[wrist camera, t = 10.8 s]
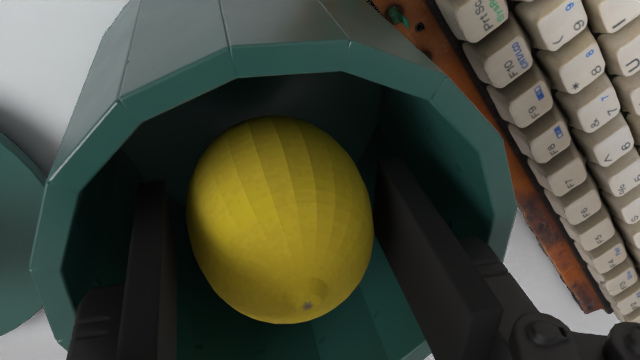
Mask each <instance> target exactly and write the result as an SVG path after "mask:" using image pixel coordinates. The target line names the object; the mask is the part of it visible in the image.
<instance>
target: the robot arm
mask: <svg viewBox="0 0 640 360" xmlns="http://www.w3.org/2000/svg"><path fill="white" fill-rule="evenodd" d="M373 226H374V234H375V236H376V238H377V240H378V242H379V244H380V246H381V248H382V250H383V252H384V254H385V256H386V258H387V261H388V263H389V265H390V267H391V269H392V271H393V273H394V275H395V277H396V279H397V281H398V283H399V285H400V287H401V290H402V292H403V294H404V296H405V298H406V300H407V302H408V304H409V306H410V308H411V310H412V312H413V314H414V316H415V319H416V321H417V323H418V325H419V327H420V329H421V331H422V333H423V335H424V337H425V339H426V341H427V343H428V346H429V348H430V350H431V352H432V354H433V356H434V358H435V360H640V323H637V322H621V323H618V324H615V325H614V326H613V328H612V329H611V330H610V332H609V334H608V336H603V335H594V334H585V333H577V332H572V331H570V329H569V328H568V327H567V326H566V325H565V324H564V323H563V322H561V321H560V320H559V319H557V318H555V317H553V316H551V315H548V314H544V313H540V312H539V311H538V310H537V308H536V307H535V306H534V304H533V303H532V302H531V300H530V299H529V298H528V296H527V295H526V294H525V292H524V291H523V290H522V288H521V287H520V286H519V284H518V283H517V282H516V280H515V279H514V278H513V276H512V275H511V274H510V273H508V270H507V268H506V267H505V266H504V264H503V263H502V262H500V259H499V258H498V256H497V255H496V254H495V252H494V251H493V250H492V248H491V247H490V246H489V245H488V244H486V243H485V242H483V241H482V240H480V239H479V238H477V237H476V236H475V235H472V236H465V237H457V238H456V237H455V236H454V234H453V233H452V231H451V230H450V228H449V227H448V225H447V224H446V222H445V221H444V219H443V218H442V217H441V215H440V214H439V212H438V211H437V209H436V208H435V206H434V205H433V203H432V202H431V200H430V199H429V197H428V196H427V194H426V193H425V191H424V190H423V189H422V187H421V186H420V184H419V183H418V181H417V180H416V178H415V177H414V175H413V174H412V172H411V171H410V169H409V168H408V166H407V165H406V163H405V162H404V161H403V159H402V158H401V156H398V157H388V158H378V159H377V171H376V183H375V195H374V206H373ZM71 337H72V340H70V345H69V350H68V354H67V359H66V360H176V347H177V247H176V241H175V235H174V229H173V223H172V217H171V212H170V206H169V200H168V194H167V188H166V182H165V180H160V181H150V182H140V183H138V185H137V193H136V201H135V209H134V217H133V225H132V233H131V241H130V249H129V257H128V265H127V273H126V281H125V283H123V284H115V285H108V286H100V287H93V288H90V289H89V291H88V292H87V294H86V295H85V296H84V298H83V299H82V300H81V302H80V303H79V304H78V308H77V313H76V318H75V325H74V327H73V331H72V336H71Z"/></svg>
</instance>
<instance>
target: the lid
mask: <svg viewBox="0 0 640 360" xmlns="http://www.w3.org/2000/svg"><path fill="white" fill-rule="evenodd" d="M46 180H47V178H46V177H45V176H44V175H43V173H42V172H41V171H40V169H39V168H38V167H37V166H36V164H35V163H34V162H33V161H32V160H31V159H30V158H29V157H28V156H27V155H26V154H25V153H24V152H23V151H22V150H21V149H20V148H19V147H18V146H17V145H16V144H14V143H13V142H12V141H11V140H9V139H8V138H7V137H6V136H4V135H3V134H2V133H1V132H0V336H2V335H4V334H5V333H7V332H9V331H11V330H13V329H15V328H17V327H18V326H19V325H21V324H22V323H24V322H25V321H27V320H28V319H30V318H31V317H32V316H33V315H34V314H35V313H36V312H37V311H38V310H39V309H40V308H42V307H43V305H42V302H41V300H40V297H39V295H38V292H37V289H36V287H35V284H34V281H33V279H32V276H31V273H30V271H29V269H30V268H29V261H30V256H31V252H32V247H33V242H34V237H35V232H36V227H37V222H38V217H39V212H40V207H41V202H42V197H43V193H44V188H45V183H46Z"/></svg>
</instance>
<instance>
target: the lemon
mask: <svg viewBox="0 0 640 360" xmlns="http://www.w3.org/2000/svg"><path fill="white" fill-rule="evenodd" d="M186 223H187V229H188V233H189V237H190V242H191V246H192V250H193V253H194V256H195V258H196V261H197V263H198V265H199V267H200V269H201V270H202V272H203V274H204V275H205V277H206V278H207V280H208V282H209V283H210V285H211V286H212V288H213V290H214V291H215V292H216V293H217V294H218V295H219V297H220V298H222V299H223V300H224V301H225V302H226V303H228V304H229V305H230V306H231V307H232V308H234V309H235V310H237V311H238V312H240V313H242V314H244V315H246V316H249V317H251V318H253V319H256V320H259V321H264V322H269V323H273V324H294V323H300V322H305V321H309V320H312V319H315V318H317V317H320V316H322V315H324V314H326V313H327V312H329V311H331V310H333V309H334V308H336V307H337V306H338V305H339V304H340V303H342V302H343V301H344V300H345V299H346V298H348V297H349V295H350V294H351V293H352V292H353V290H354V289H355V288H356V287H357V285H358V284H359V283H360V281H361V280H362V277H363V275H364V273H365V271H366V269H367V267H368V264H369V261H370V258H371V253H372V247H373V240H374V226H373V218H372V210H371V203H370V199H369V194H368V191H367V188H366V186H365V184H364V182H363V179H362V177H361V175H360V173H359V171H358V169H357V167H356V165H355V163H354V161H353V160H352V158H351V157H350V156H349V155H348V153H347V152H346V151H345V150H344V149H343V148H342V147H341V146H340V145H339V144H338V143H337V142H336V141H335V140H334V139H333V138H332V137H331V136H330V135H329V134H328V133H326V132H324V131H323V130H321V129H319V128H317V127H316V126H314V125H312V124H311V123H309V122H307V121H303V120H299V119H296V118H292V117H288V116H275V115H265V116H260V117H256V118H251V119H247V120H244V121H242V122H240V123H238V124H236V125H233V126H231V127H229V128H228V129H227V130H225V131H224V132H223V133H221V134H220V135H219V136H218V137H216V138H215V139H214V140H213V141H212V142H211V144H210V145H209V146H208V147H207V149H206V150H205V151H204V152H203V154H202V155H201V156H200V158H199V160H198V162H197V164H196V167H195V169H194V172H193V174H192V176H191V179H190V182H189V186H188V194H187V205H186Z"/></svg>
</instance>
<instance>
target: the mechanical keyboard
mask: <svg viewBox="0 0 640 360" xmlns="http://www.w3.org/2000/svg"><path fill="white" fill-rule="evenodd" d="M371 1H372V2H373V3H374V5H375V6H376V7H377V8H378V10H379V11H380V13H381V15H382V16H383V17H384V18H385V19H386V20H387V21H388V22H389V23H391V24H392V25H393V26H394V27H395V28H396V29H397V30H398V31H399V32H400V33H402V34H403V35H404V36H405V37H406V38H407V39H408V40H409V41H410V42H411V43H413V44H414V45H415V46H416V47H417V48H418V49H419V50H420V51H421V52H422V53H423V54H425V55H426V56H427V57H428V58H429V59H430V60H431V61H432V62H433V63H434V64H436V65H437V66H438V67H439V68H440V69H441V70H442V71H443V72H444V73H445V74H447V75H448V76H449V77H450V79H451V80H452V81H453V82H454V83H455V84H456V85H457V86H458V87H459V89H460V90H461V91H462V92H463V93H464V94H465V95H466V96H467V98H468V99H469V100H470V101H471V102H472V103H473V104H474V105H475V106H476V108H477V109H478V110H479V111H480V112H481V113H482V114H483V115H484V116H485V118H486V119H487V120H488V121H489V122H490V123H491V124H492V125H493V127H494V128H495V129H496V130H497V131H498V132H499V133H500V135H501V137H502V138H503V141H504V146H505V151H506V155H507V160H508V165H509V170H510V174H511V179H512V184H513V189H514V194H515V198H516V203H517V204H518V205H519V208H520V209H521V211H522V212H523V215H524V218H525V220H526V222H527V224H528V225H529V228H530V229H531V231H533V232H534V233H535V235H536V238H537V240H538V241H539V245H540V246H541V248H542V250H543V251H544V252H545V254H546V255H547V256H548V257H550V260H551V261H552V263H553V264H554V266H555V267H556V269H557V271H558V273H559V274H560V278H561V279H562V281H563V282H564V283H565V284H566V285H567V288H568V289H569V290H570V292H571V294H572V296H573V298H574V299H575V301H576V302H577V303H578V304H579V306H580V308H581V310H583V311H584V313H585V314H589V313H591V312H594V311H596V310H599V309H603V310H605V312H606V313H607V314H611V313H612V312H614V314H615V315H616V317H617V318H618V319H619V320H620V321H621V322H637V323H640V0H371ZM419 23H422V24H423V25H424V29H422V30H418V28H417V26H418V24H419Z"/></svg>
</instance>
